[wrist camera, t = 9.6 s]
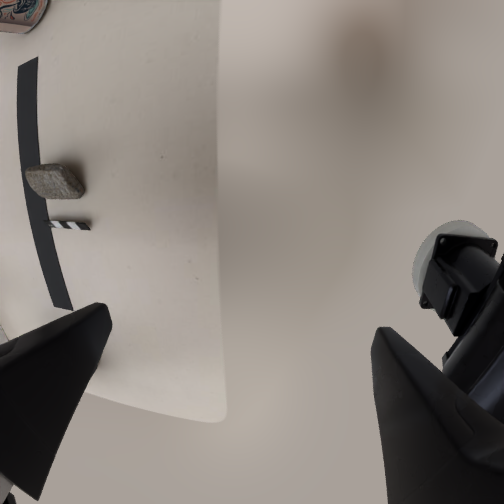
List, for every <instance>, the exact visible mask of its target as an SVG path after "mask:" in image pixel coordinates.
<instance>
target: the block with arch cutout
mask: <svg viewBox="0 0 504 504" xmlns="http://www.w3.org/2000/svg"><path fill="white" fill-rule="evenodd" d="M8 341H9V340H8V339H7V337H6V335H5V333H4V331H3V329H2V327H1V325H0V345H1V344H3V343H6V342H8Z"/></svg>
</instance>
